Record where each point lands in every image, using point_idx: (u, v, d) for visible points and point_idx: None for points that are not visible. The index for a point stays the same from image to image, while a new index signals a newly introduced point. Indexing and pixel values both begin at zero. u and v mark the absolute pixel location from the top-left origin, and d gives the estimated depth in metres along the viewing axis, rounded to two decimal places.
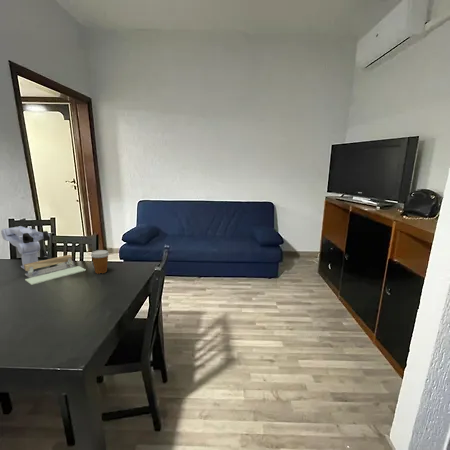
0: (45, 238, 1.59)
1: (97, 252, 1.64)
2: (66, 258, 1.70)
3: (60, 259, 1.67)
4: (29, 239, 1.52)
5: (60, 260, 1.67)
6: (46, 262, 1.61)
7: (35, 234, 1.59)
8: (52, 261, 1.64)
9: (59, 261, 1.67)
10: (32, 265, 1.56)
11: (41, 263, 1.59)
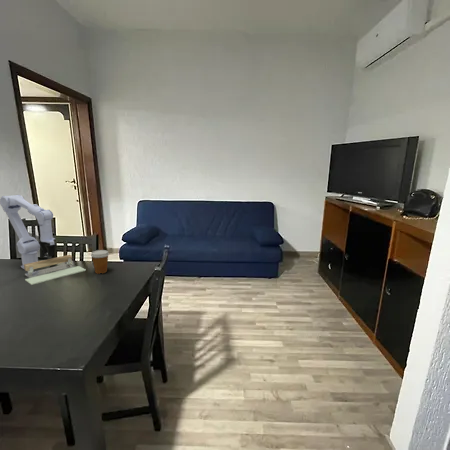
0: (43, 247, 1.64)
1: (97, 252, 1.64)
2: (66, 258, 1.70)
3: (60, 259, 1.67)
4: (50, 251, 1.60)
5: (60, 260, 1.67)
6: (46, 262, 1.61)
7: None
8: (52, 261, 1.64)
9: (59, 261, 1.67)
10: (32, 265, 1.56)
11: (41, 263, 1.59)
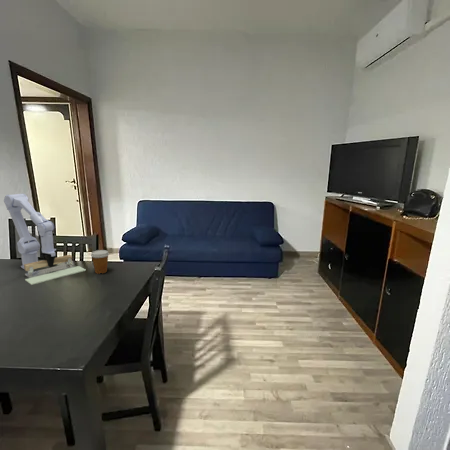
0: (46, 258, 1.64)
1: (97, 252, 1.64)
2: (66, 258, 1.70)
3: (60, 259, 1.67)
4: (50, 261, 1.62)
5: (60, 260, 1.67)
6: (46, 262, 1.61)
7: None
8: None
9: (59, 261, 1.67)
10: (32, 265, 1.56)
11: (41, 263, 1.59)
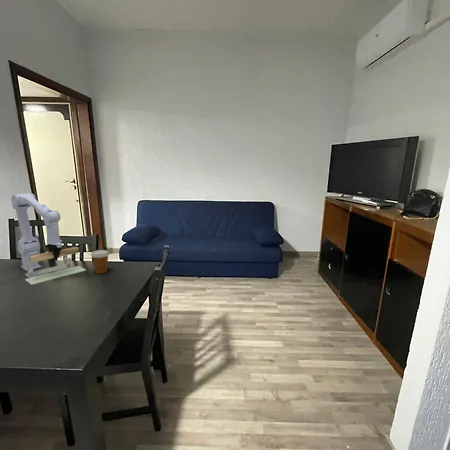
0: (51, 250, 1.57)
1: (97, 252, 1.64)
2: (72, 250, 1.63)
3: (66, 251, 1.60)
4: (56, 252, 1.55)
5: (66, 252, 1.60)
6: (52, 254, 1.54)
7: None
8: None
9: (65, 253, 1.60)
10: (37, 257, 1.49)
11: (47, 255, 1.52)
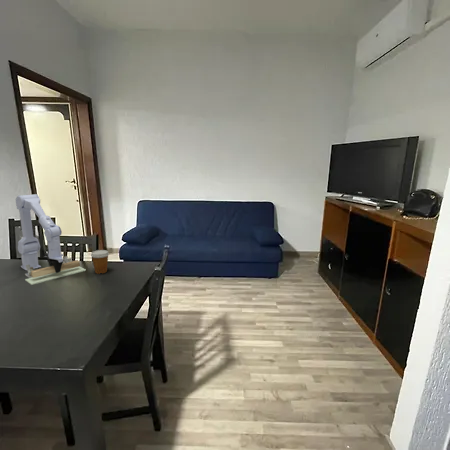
0: (53, 264, 1.58)
1: (97, 252, 1.64)
2: (74, 264, 1.64)
3: (67, 265, 1.62)
4: (57, 267, 1.57)
5: (67, 266, 1.62)
6: (53, 268, 1.56)
7: None
8: None
9: (66, 267, 1.61)
10: (39, 272, 1.51)
11: (48, 269, 1.54)
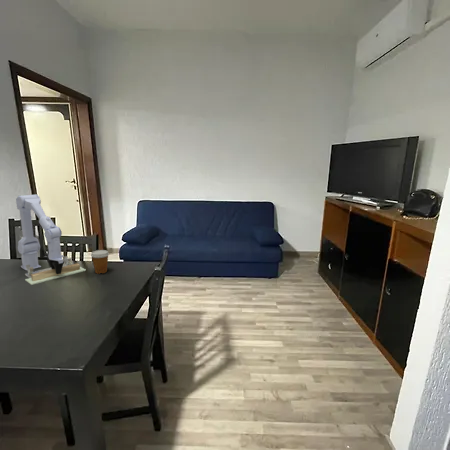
0: (52, 265, 1.59)
1: (97, 252, 1.64)
2: (74, 267, 1.65)
3: (68, 268, 1.62)
4: (58, 268, 1.56)
5: (68, 269, 1.62)
6: (54, 271, 1.56)
7: None
8: None
9: (67, 270, 1.62)
10: (39, 275, 1.51)
11: (48, 273, 1.54)
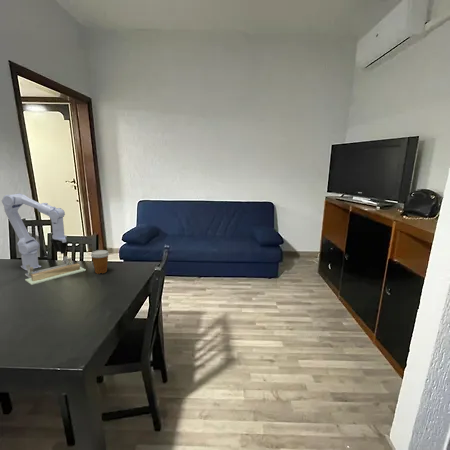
0: (55, 244, 1.68)
1: (97, 252, 1.64)
2: (74, 267, 1.65)
3: (68, 268, 1.62)
4: (62, 248, 1.63)
5: (68, 269, 1.62)
6: (54, 271, 1.56)
7: None
8: (60, 270, 1.59)
9: (67, 270, 1.62)
10: (39, 275, 1.51)
11: (48, 273, 1.54)
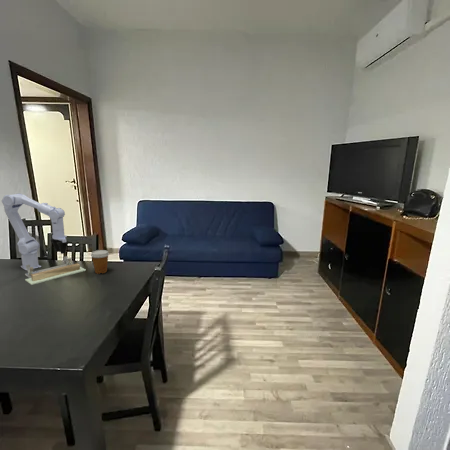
0: (55, 244, 1.68)
1: (97, 252, 1.64)
2: (74, 267, 1.65)
3: (68, 268, 1.62)
4: (62, 248, 1.63)
5: (68, 269, 1.62)
6: (54, 271, 1.56)
7: None
8: (60, 270, 1.59)
9: (67, 270, 1.62)
10: (39, 275, 1.51)
11: (48, 273, 1.54)
